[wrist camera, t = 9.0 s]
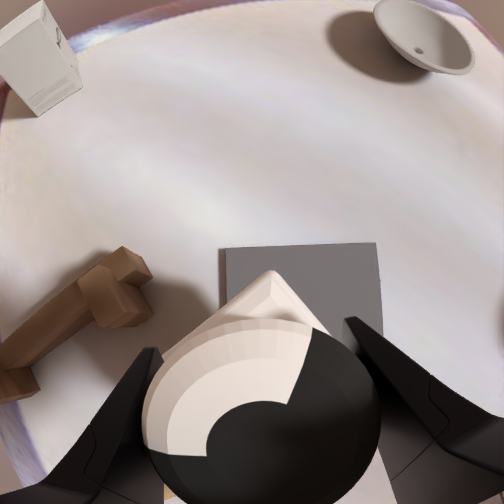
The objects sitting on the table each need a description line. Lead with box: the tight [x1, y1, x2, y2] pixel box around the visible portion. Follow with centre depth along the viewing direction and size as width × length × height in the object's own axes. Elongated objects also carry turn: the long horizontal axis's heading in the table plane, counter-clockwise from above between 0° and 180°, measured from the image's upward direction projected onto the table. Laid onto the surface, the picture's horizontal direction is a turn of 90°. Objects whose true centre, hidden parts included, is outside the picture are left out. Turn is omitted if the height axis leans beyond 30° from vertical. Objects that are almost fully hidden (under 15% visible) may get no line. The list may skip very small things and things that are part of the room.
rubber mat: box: [226, 243, 383, 343], centre depth 22 cm, size 12×12×1 cm
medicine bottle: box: [142, 270, 382, 504], centre depth 11 cm, size 7×7×12 cm
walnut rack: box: [0, 246, 154, 404], centre depth 19 cm, size 4×20×6 cm, turn 124°
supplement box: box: [0, 0, 82, 117], centre depth 23 cm, size 7×7×13 cm
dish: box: [373, 0, 475, 75], centre depth 27 cm, size 18×14×5 cm
